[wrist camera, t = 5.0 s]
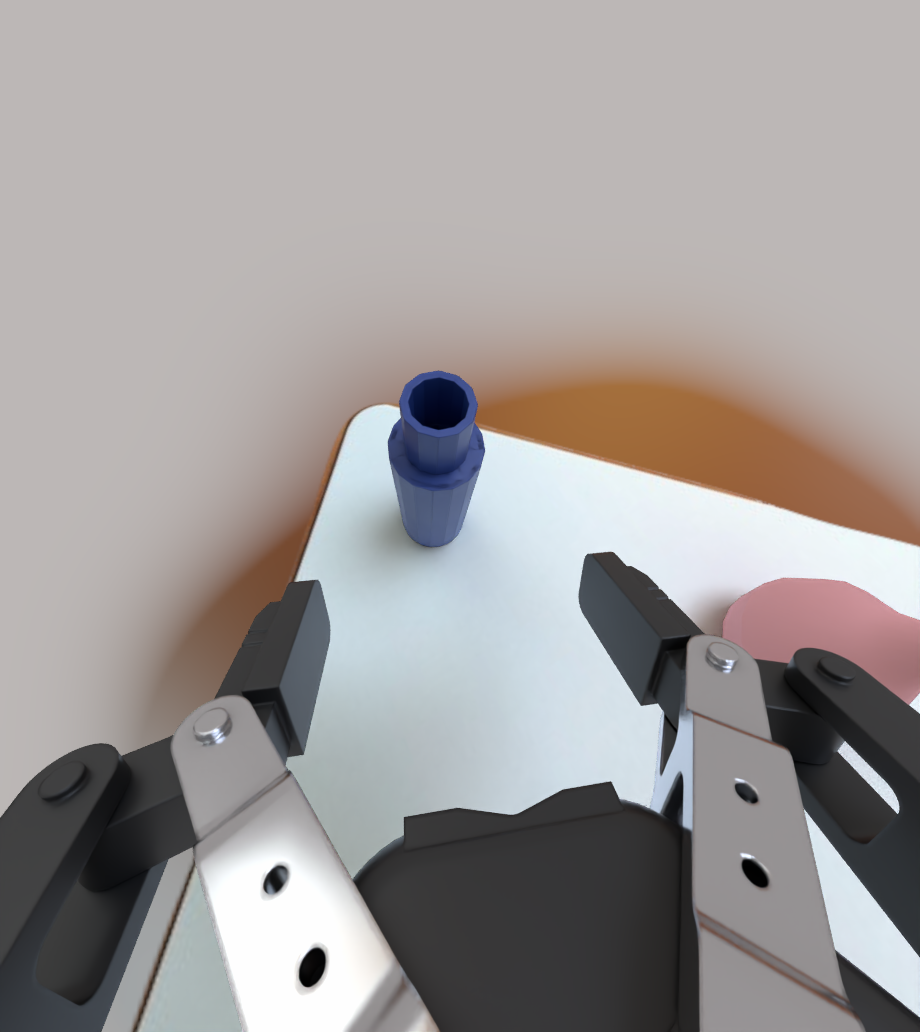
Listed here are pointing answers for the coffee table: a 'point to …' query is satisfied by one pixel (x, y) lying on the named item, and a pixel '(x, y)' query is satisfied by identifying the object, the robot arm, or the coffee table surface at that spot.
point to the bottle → (435, 456)
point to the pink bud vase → (828, 628)
